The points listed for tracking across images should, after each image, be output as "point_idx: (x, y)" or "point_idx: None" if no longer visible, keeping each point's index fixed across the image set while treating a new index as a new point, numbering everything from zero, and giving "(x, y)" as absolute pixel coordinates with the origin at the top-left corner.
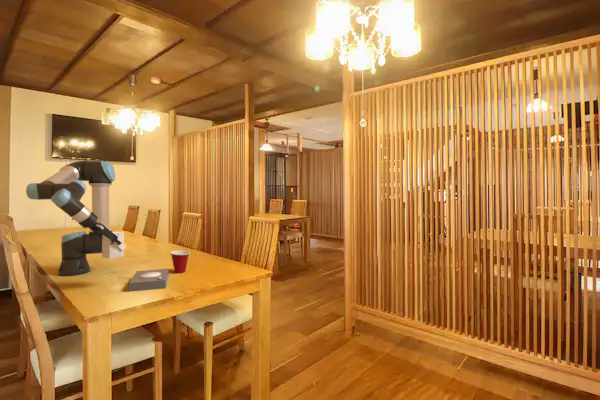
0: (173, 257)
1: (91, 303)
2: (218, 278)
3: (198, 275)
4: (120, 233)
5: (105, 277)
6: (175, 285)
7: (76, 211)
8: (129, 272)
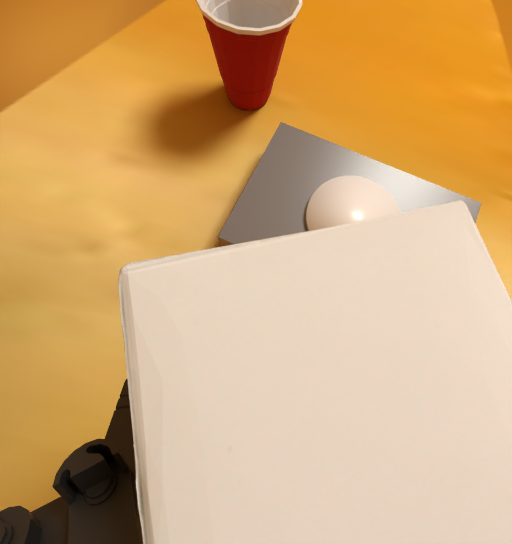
0: (259, 49)
1: None
2: (436, 46)
3: (349, 71)
4: (494, 293)
5: (87, 351)
6: (437, 179)
7: None
8: (81, 238)
